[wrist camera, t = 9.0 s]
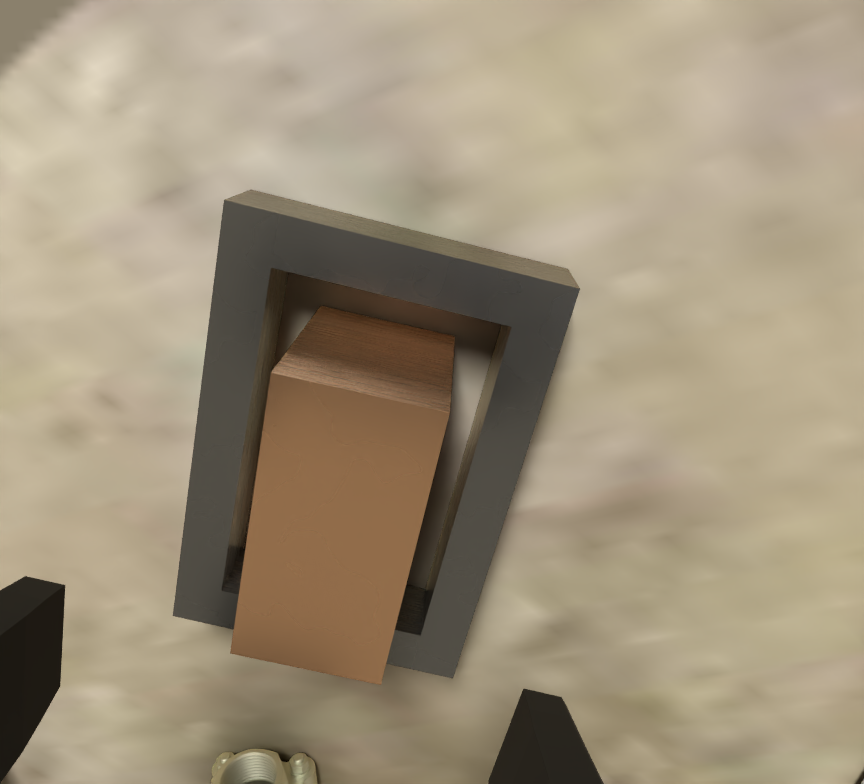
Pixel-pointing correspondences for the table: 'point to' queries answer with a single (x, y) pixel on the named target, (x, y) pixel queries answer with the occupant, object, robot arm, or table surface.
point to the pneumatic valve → (263, 768)
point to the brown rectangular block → (341, 492)
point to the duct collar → (253, 363)
